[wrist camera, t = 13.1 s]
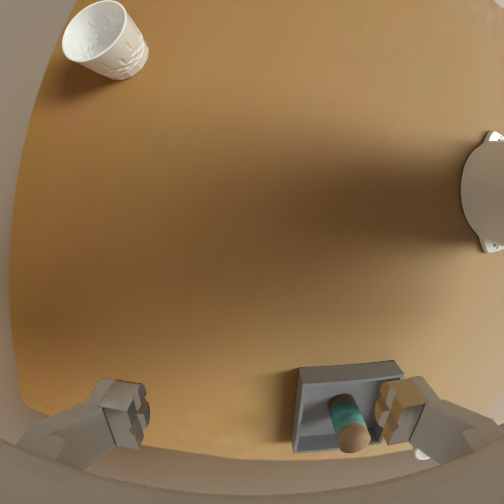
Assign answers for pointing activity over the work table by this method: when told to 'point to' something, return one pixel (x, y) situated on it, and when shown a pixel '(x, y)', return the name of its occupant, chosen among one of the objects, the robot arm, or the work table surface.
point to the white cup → (105, 41)
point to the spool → (348, 423)
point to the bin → (324, 389)
